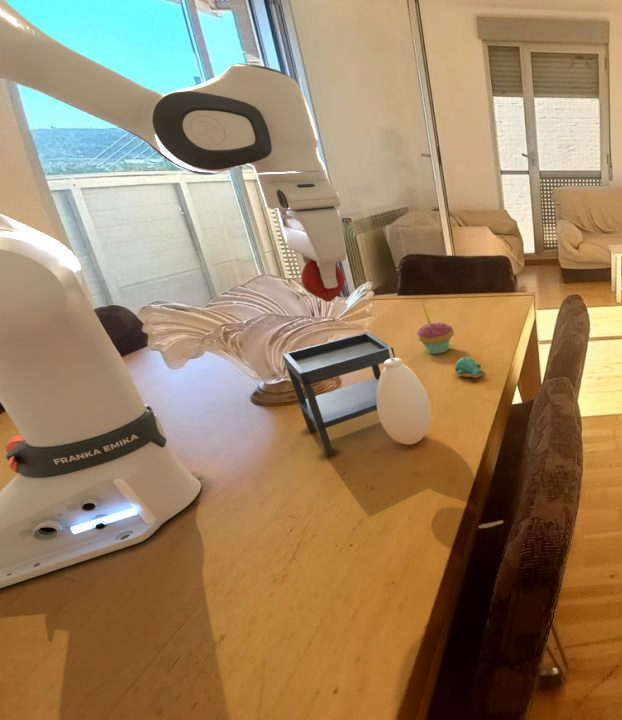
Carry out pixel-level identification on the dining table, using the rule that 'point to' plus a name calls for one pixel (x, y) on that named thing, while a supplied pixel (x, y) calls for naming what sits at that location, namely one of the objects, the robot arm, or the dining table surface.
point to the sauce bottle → (402, 402)
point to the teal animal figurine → (468, 368)
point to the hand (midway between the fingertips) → (324, 283)
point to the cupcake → (435, 335)
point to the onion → (320, 282)
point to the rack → (332, 363)
